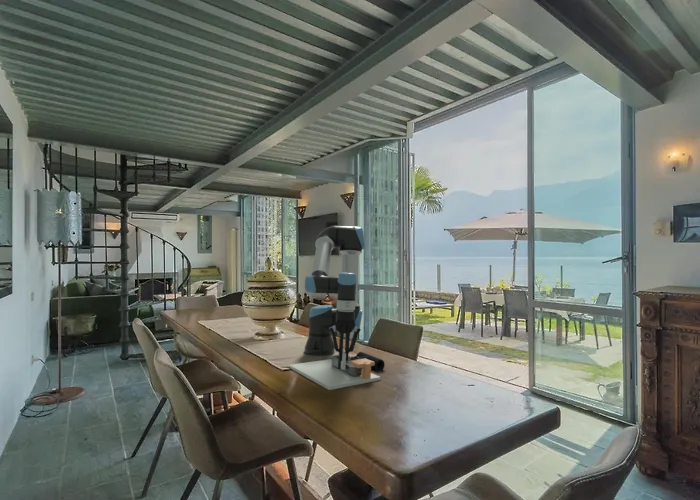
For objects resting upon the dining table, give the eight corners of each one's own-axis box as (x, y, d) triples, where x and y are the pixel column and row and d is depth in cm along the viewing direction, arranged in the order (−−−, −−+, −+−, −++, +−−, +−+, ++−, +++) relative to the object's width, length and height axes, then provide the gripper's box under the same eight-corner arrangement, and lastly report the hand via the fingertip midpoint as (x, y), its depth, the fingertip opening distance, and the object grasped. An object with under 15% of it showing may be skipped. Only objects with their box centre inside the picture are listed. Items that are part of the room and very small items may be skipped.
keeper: (364, 375, 157) (365, 358, 157) (376, 380, 151) (376, 362, 151) (348, 378, 152) (349, 360, 152) (359, 383, 146) (360, 365, 146)
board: (335, 360, 178) (335, 358, 178) (380, 379, 152) (380, 376, 152) (289, 367, 164) (289, 364, 164) (329, 390, 138) (329, 386, 138)
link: (331, 365, 165) (332, 355, 165) (344, 363, 168) (344, 354, 168) (350, 376, 149) (350, 366, 150) (363, 375, 152) (364, 365, 152)
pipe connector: (363, 361, 160) (344, 353, 173) (362, 374, 160) (343, 365, 173) (384, 358, 167) (364, 351, 179) (384, 371, 166) (364, 362, 179)
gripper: (331, 311, 151) (328, 371, 150) (363, 312, 154) (360, 371, 153) (328, 309, 159) (326, 366, 158) (359, 309, 161) (356, 366, 160)
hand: (343, 368), depth 155 cm, fingers closed
